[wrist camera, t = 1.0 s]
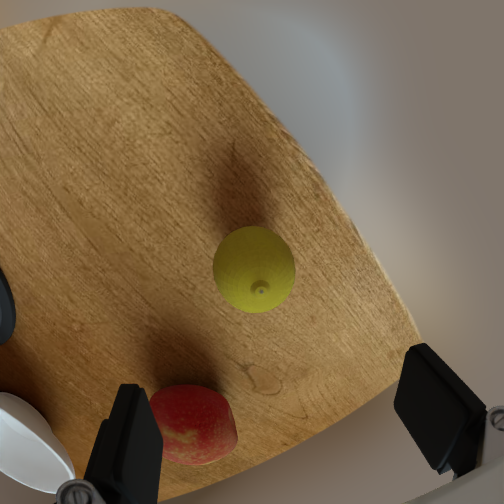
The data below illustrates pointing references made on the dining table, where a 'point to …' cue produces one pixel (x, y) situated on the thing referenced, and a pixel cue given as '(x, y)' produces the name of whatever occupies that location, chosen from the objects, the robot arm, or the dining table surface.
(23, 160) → the dining table surface
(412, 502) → the robot arm
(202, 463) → the apple
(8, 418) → the bowl
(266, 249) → the lemon
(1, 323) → the plate
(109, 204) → the dining table surface
